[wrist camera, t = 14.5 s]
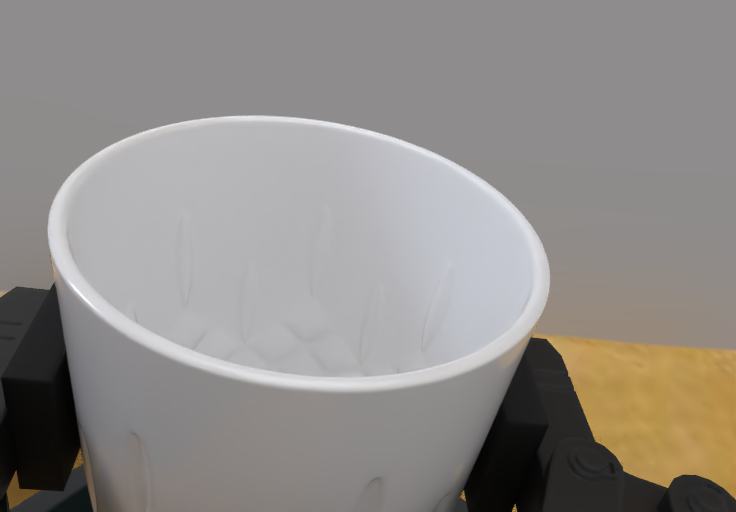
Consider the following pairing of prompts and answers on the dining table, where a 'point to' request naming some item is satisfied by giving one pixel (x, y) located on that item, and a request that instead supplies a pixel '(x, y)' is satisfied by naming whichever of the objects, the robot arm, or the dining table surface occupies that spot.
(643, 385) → the dining table surface
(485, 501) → the robot arm
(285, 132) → the white cup
